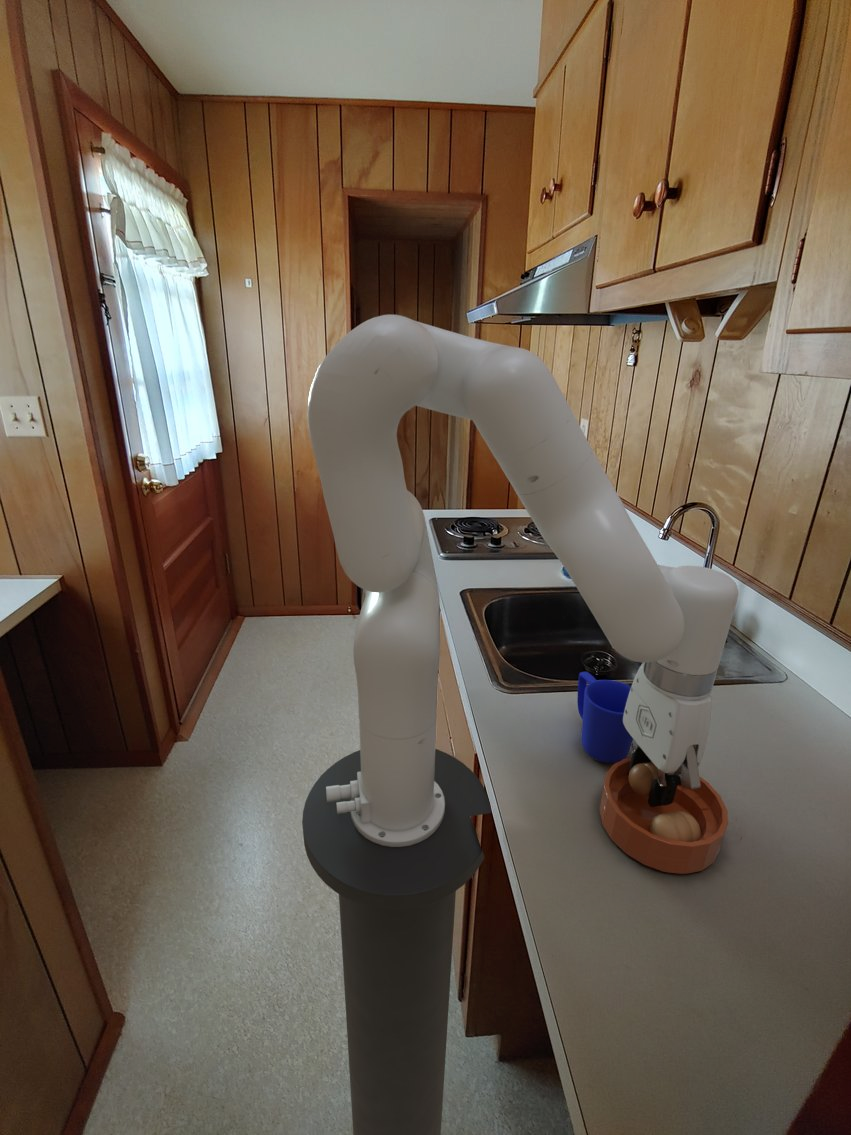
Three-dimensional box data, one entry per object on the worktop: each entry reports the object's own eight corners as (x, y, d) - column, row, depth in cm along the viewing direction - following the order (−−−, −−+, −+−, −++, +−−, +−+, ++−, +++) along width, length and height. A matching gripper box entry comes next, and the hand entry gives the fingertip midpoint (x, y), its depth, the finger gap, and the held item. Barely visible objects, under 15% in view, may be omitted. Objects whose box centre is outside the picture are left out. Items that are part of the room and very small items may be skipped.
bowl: (637, 886, 63) (644, 855, 61) (580, 792, 75) (585, 763, 74) (744, 865, 66) (755, 835, 64) (672, 778, 78) (679, 750, 76)
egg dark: (636, 805, 69) (642, 781, 67) (620, 781, 73) (625, 758, 71) (679, 799, 70) (685, 775, 69) (660, 776, 74) (666, 752, 72)
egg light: (657, 859, 66) (666, 840, 64) (639, 828, 69) (648, 809, 67) (701, 851, 67) (712, 832, 65) (682, 821, 70) (691, 802, 68)
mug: (596, 713, 91) (605, 662, 87) (644, 763, 81) (656, 707, 77) (553, 722, 89) (560, 670, 85) (596, 775, 78) (606, 718, 74)
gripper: (613, 637, 71) (591, 748, 78) (697, 720, 56) (661, 849, 63) (665, 632, 72) (639, 742, 80) (760, 712, 57) (718, 839, 65)
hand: (649, 788), depth 71 cm, fingers closed on egg dark, 4 cm apart
